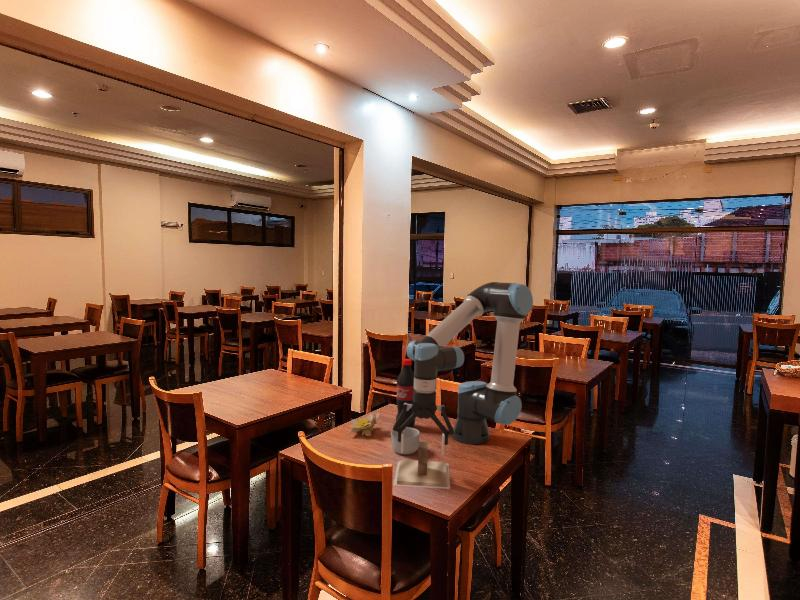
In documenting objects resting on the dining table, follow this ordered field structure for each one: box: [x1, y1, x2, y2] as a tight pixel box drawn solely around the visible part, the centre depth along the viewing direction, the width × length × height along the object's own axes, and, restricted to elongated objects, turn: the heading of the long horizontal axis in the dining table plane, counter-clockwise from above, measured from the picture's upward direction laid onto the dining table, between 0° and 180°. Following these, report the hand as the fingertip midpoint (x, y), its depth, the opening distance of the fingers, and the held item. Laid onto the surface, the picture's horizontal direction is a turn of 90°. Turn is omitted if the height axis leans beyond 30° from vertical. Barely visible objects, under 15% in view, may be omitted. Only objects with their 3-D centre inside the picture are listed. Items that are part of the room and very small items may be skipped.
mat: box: [393, 460, 451, 490], centre depth 155 cm, size 18×18×1 cm
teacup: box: [390, 427, 420, 456], centre depth 175 cm, size 14×11×8 cm
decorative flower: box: [348, 412, 380, 437], centre depth 193 cm, size 15×11×10 cm
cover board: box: [397, 441, 447, 487], centre depth 154 cm, size 16×16×10 cm
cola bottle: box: [395, 358, 416, 428], centre depth 199 cm, size 8×8×30 cm
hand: (422, 452), depth 154 cm, fingers open, 13 cm apart
